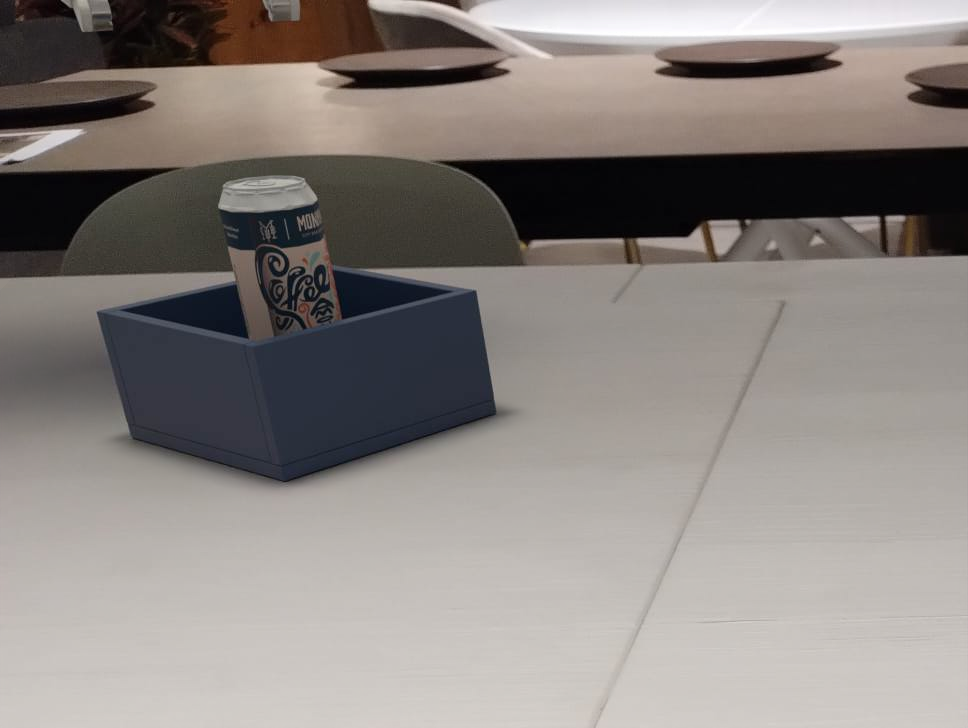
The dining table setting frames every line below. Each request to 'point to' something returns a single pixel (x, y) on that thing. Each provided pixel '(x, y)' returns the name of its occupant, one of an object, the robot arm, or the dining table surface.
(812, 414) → the dining table surface
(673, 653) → the dining table surface
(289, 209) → the coffee can
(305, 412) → the bin
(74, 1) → the robot arm
